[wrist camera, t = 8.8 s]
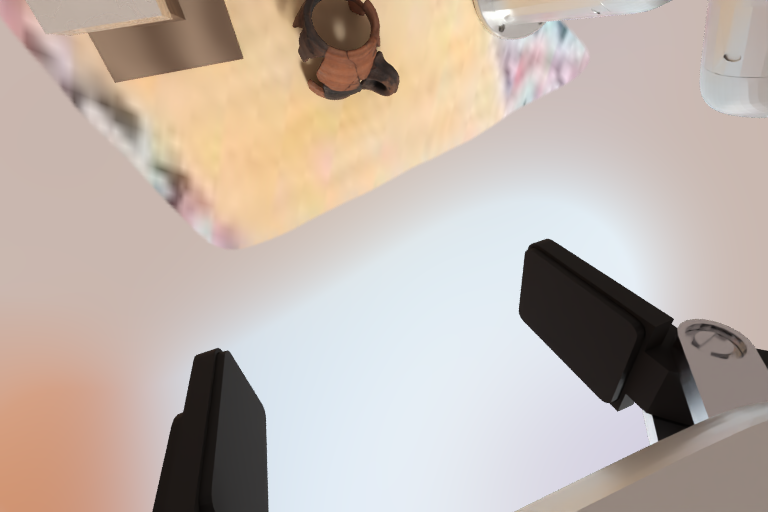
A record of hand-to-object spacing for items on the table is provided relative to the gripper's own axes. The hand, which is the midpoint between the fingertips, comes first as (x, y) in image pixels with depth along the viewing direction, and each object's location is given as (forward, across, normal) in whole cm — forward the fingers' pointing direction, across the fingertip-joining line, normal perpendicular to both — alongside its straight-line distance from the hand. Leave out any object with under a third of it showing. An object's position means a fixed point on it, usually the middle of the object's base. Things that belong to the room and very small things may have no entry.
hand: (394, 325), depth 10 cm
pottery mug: (+37, -8, -5) cm, 38 cm away
